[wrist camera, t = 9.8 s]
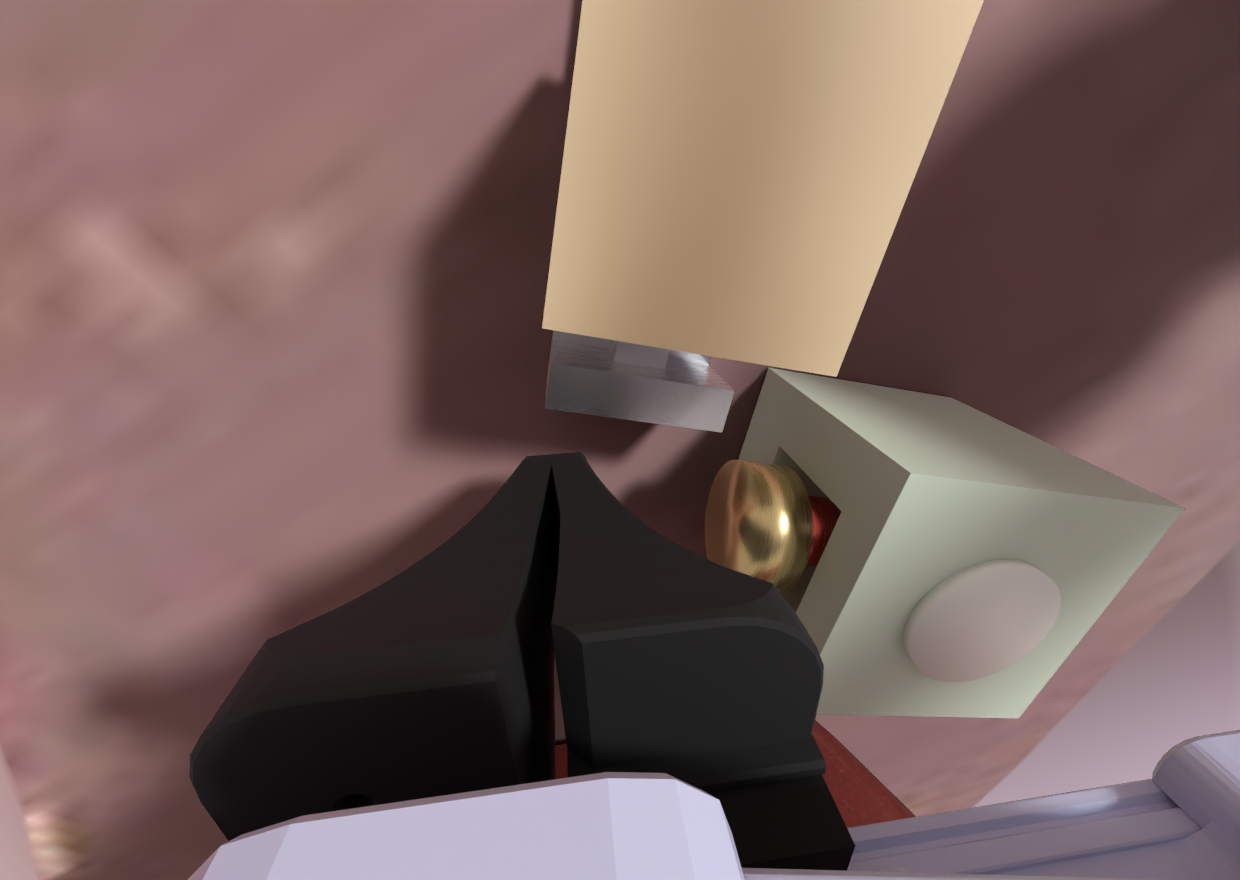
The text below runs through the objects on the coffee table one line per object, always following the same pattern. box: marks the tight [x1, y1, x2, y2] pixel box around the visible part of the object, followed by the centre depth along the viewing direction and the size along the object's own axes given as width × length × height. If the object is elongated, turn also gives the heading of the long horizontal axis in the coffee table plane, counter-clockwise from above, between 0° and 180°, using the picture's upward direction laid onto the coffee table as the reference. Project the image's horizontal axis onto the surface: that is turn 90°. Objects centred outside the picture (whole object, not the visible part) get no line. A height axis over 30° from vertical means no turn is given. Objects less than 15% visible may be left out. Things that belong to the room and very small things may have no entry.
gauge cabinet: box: [738, 368, 1185, 718], centre depth 12 cm, size 6×6×6 cm
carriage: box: [542, 0, 984, 377], centre depth 8 cm, size 4×5×4 cm
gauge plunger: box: [704, 460, 842, 593], centre depth 12 cm, size 7×3×3 cm, turn 79°
